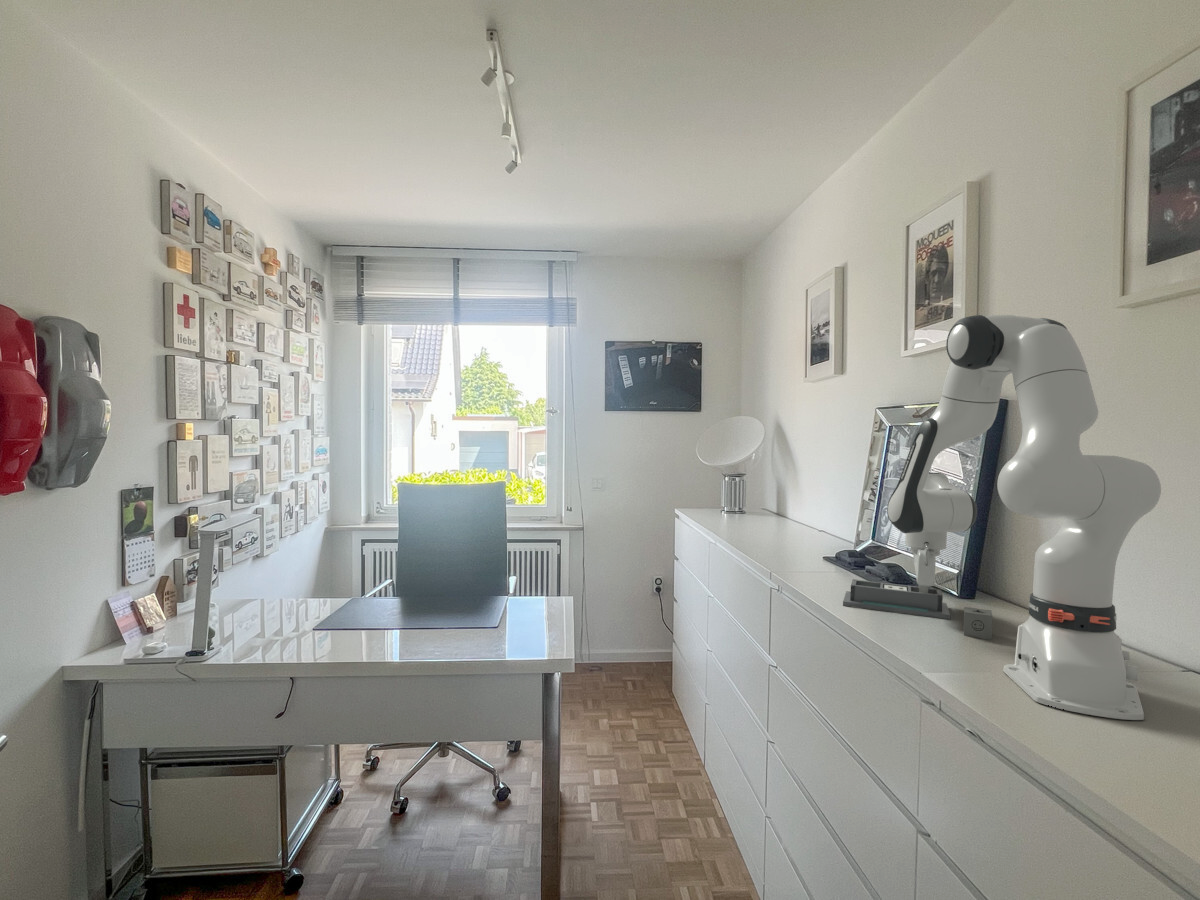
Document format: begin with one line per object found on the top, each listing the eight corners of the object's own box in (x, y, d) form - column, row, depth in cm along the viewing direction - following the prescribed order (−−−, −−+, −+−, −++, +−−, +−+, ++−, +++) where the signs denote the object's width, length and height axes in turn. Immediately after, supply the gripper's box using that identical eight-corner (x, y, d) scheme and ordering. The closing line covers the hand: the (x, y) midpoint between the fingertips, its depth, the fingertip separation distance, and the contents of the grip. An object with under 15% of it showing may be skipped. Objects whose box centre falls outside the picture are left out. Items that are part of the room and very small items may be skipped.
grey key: (906, 599, 156) (907, 590, 156) (883, 596, 158) (884, 588, 158) (906, 594, 161) (906, 586, 161) (884, 591, 163) (884, 584, 163)
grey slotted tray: (949, 619, 150) (950, 598, 149) (842, 605, 159) (843, 586, 159) (946, 607, 160) (946, 588, 160) (846, 594, 170) (846, 576, 170)
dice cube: (963, 635, 138) (964, 612, 137) (963, 629, 142) (964, 606, 142) (991, 639, 135) (992, 615, 135) (990, 633, 140) (991, 610, 139)
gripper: (943, 547, 146) (940, 609, 146) (937, 535, 165) (935, 589, 165) (912, 544, 149) (909, 605, 149) (910, 532, 167) (907, 586, 168)
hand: (923, 596), depth 157 cm, fingers closed, pressing on sand key
